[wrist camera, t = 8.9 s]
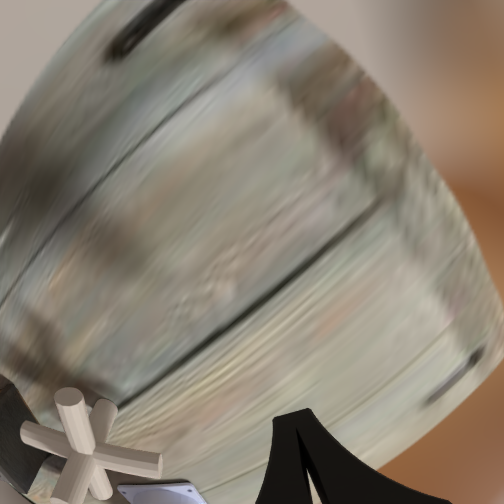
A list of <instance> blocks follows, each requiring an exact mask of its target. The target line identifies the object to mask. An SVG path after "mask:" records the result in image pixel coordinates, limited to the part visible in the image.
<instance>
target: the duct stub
mask: <svg viewBox="0 0 504 504" xmlns="http://www.w3.org/2000/svg"><path fill="white" fill-rule="evenodd" d="M25 421H30V422H33V423H36V424H39V423H38V421H37V420H36V418H35V417H34V415H33V414H32V412H31V411H30V409H29V408H28V406H27V404H26V403H25V401H24V400H23V398H22V396H21V395H20V393H19V391H18V390H17V389H16V388H15V386H14V384H12V385H6V387H5V388H4V389H0V480H1V481H5V482H8V483H11V484H12V485H13V486H14V487H15V488H16V489H17V490H18V491H19V492H20V493H24V494H27V493H28V491H29V489H30V487H31V485H32V483H33V481H34V479H35V477H36V475H37V473H38V471H39V469H40V467H41V465H42V463H43V462H44V460H45V458H46V456H47V454H48V452H47V451H44V450H41V449H39V448H36V447H33V446H31V445H28V444H26V443H24V442H23V441H22V439H21V435H20V430H21V426H22V424H23V422H25ZM39 425H40V424H39Z"/></svg>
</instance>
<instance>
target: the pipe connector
mask: <svg viewBox="0 0 504 504" xmlns="http://www.w3.org/2000/svg"><path fill="white" fill-rule="evenodd" d="M54 400H55V403H56V407H57V410H58V413H59V416H60V419H61V422H62V425H63V428H64V431H65V433H63V432H60V431H57V430H54V429H51V428H48V427H45V426H42V425H39V424H36V423H33V422H30V421H25V422H23V424H22V426H21V430H20V435H21V439H22V441H23V442H24V443H26V444H28V445H31V446H33V447H36V448H39V449H41V450H44V451H47V452H50V453H53V454H55V455H58V456H62V457H65V458H68V460H67V462H66V464H65V466H64V468H63V471H62V473H61V475H60V477H59V479H58V481H57V484H56V486H55V488H54V490H53V493H52V495H51V497H50V501H51V503H52V504H83V501H84V498H85V495H86V493H87V490H88V488H89V490H90V493H91V494H92V495H93V497H95V498H96V499H98V500H106V499H109V498H110V497H111V496H112V494H113V491H112V487H111V485H110V482H109V479H108V477H107V474H106V471H105V469H108V470H113V471H117V472H122V473H127V474H132V475H137V476H143V477H149V478H156V479H160V478H161V475H162V463H163V461H162V454H161V453H154V452H147V451H141V450H135V449H130V448H124V447H119V446H115V445H110V444H105V442H106V440H107V437H108V435H109V432H110V430H111V427H112V425H113V422H114V420H115V417H116V415H117V413H118V409H117V407H116V405H115V404H114V403H113V402H111V401H109V400H107V399H99V400H97V402H96V404H95V406H94V407H93V409H92V411H91V413H90V415H89V417H88V413H87V409H86V405H85V401H84V397H83V394H82V393H81V391H80V390H78V389H76V388H72V387H66V388H62V389H59V390H58V391H57V392H56V393H55V395H54Z"/></svg>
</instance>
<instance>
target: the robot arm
mask: <svg viewBox="0 0 504 504" xmlns="http://www.w3.org/2000/svg"><path fill="white" fill-rule="evenodd" d="M272 421H273V436H272V445H271V451H270V457H269V462H268V466H267V470H266V473H265V477H264V481H263V484H262V487H261V490H260V492H259V495H258V498H257V500H256V503H255V504H313V501H312V496H311V490H310V484H309V479H308V473H309V475H310V477H311V480H312V482H313V484H314V486H315V489H316V491H317V493H318V496H319V498H320V500H321V502H322V504H452V503H451V502H450V501H448V500H445V499H441V498H437V497H434V496H431V495H427V494H424V493H421V492H419V491H416V490H413V489H411V488H408V487H406V486H404V485H402V484H400V483H398V482H395V481H393V480H392V479H389V478H387V477H386V476H384V475H382V474H381V473H379V472H377V471H375V470H374V469H372V468H371V467H369V466H368V465H366V464H365V463H363V462H362V461H361V460H359V459H358V458H357V457H355V456H354V455H353V454H352V453H350V452H349V451H348V450H347V449H346V448H345V447H343V446H342V445H341V444H340V443H339V442H338V441H337V440H336V439H335V438H334V437H333V436H332V435H331V434H330V433H329V432H328V431H327V430H326V429H325V428H324V426H323V425H322V424H321V423H320V422H319V420H318V419H317V418H316V416H315V415H314V414H313V412H312V410H311V409H309V408H306V409H302V410H299V411H295V412H292V413H288V414H285V415H281V416H277V417H274V419H273V420H272ZM307 470H308V473H307ZM117 489H118V491H119V492H120V493H121V494H122V495H123V496H124V497H125V498H126V499H127V500H128V501H129V502H130V503H131V504H207V503H206V502H205V500H204V499H203V498H202V496H201V495H200V494H199V493H198V491H197V490H196V488H195V487H194V486H193V485H192V484H191V483H174V484H156V485H118V487H117Z"/></svg>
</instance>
